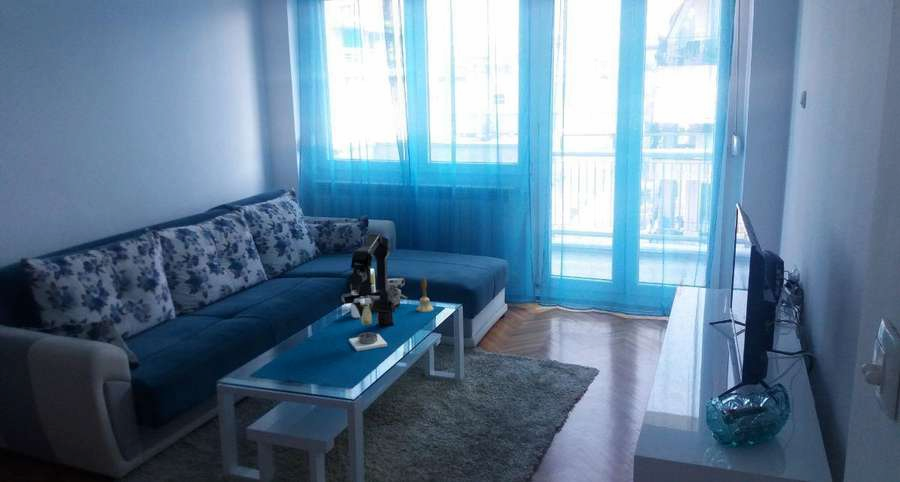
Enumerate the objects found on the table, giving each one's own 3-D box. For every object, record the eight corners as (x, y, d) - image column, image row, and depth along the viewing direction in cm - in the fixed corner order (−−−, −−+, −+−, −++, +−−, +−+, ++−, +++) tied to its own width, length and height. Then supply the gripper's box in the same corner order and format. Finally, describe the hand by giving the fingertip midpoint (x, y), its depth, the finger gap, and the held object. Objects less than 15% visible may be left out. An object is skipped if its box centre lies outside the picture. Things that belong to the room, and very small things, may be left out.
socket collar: (374, 336, 296) (373, 331, 296) (379, 342, 290) (378, 337, 289) (356, 339, 294) (356, 334, 293) (361, 345, 287) (361, 339, 286)
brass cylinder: (370, 320, 293) (369, 302, 291) (373, 323, 289) (372, 305, 287) (360, 321, 291) (359, 303, 290) (363, 325, 287) (361, 306, 286)
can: (366, 314, 332) (365, 290, 330) (363, 318, 326) (362, 293, 324) (353, 314, 333) (351, 290, 331) (350, 318, 327) (348, 293, 324)
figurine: (401, 311, 334) (399, 281, 331) (381, 309, 339) (379, 279, 336) (410, 306, 342) (409, 277, 339) (390, 304, 347) (389, 275, 344)
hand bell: (433, 311, 332) (432, 279, 329) (416, 312, 333) (414, 280, 329) (433, 306, 340) (432, 275, 337) (417, 307, 341) (415, 275, 337)
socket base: (378, 336, 300) (378, 334, 300) (387, 346, 288) (387, 343, 288) (349, 341, 295) (349, 338, 295) (356, 351, 284) (356, 348, 283)
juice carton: (368, 309, 340) (366, 271, 336) (355, 306, 344) (353, 269, 340) (378, 305, 346) (376, 268, 342) (365, 302, 351) (363, 266, 347)
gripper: (380, 272, 297) (382, 307, 300) (337, 278, 290) (340, 313, 293) (387, 278, 287) (389, 314, 290) (343, 284, 280) (346, 321, 283)
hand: (366, 315), depth 289 cm, fingers closed on brass cylinder, 4 cm apart
